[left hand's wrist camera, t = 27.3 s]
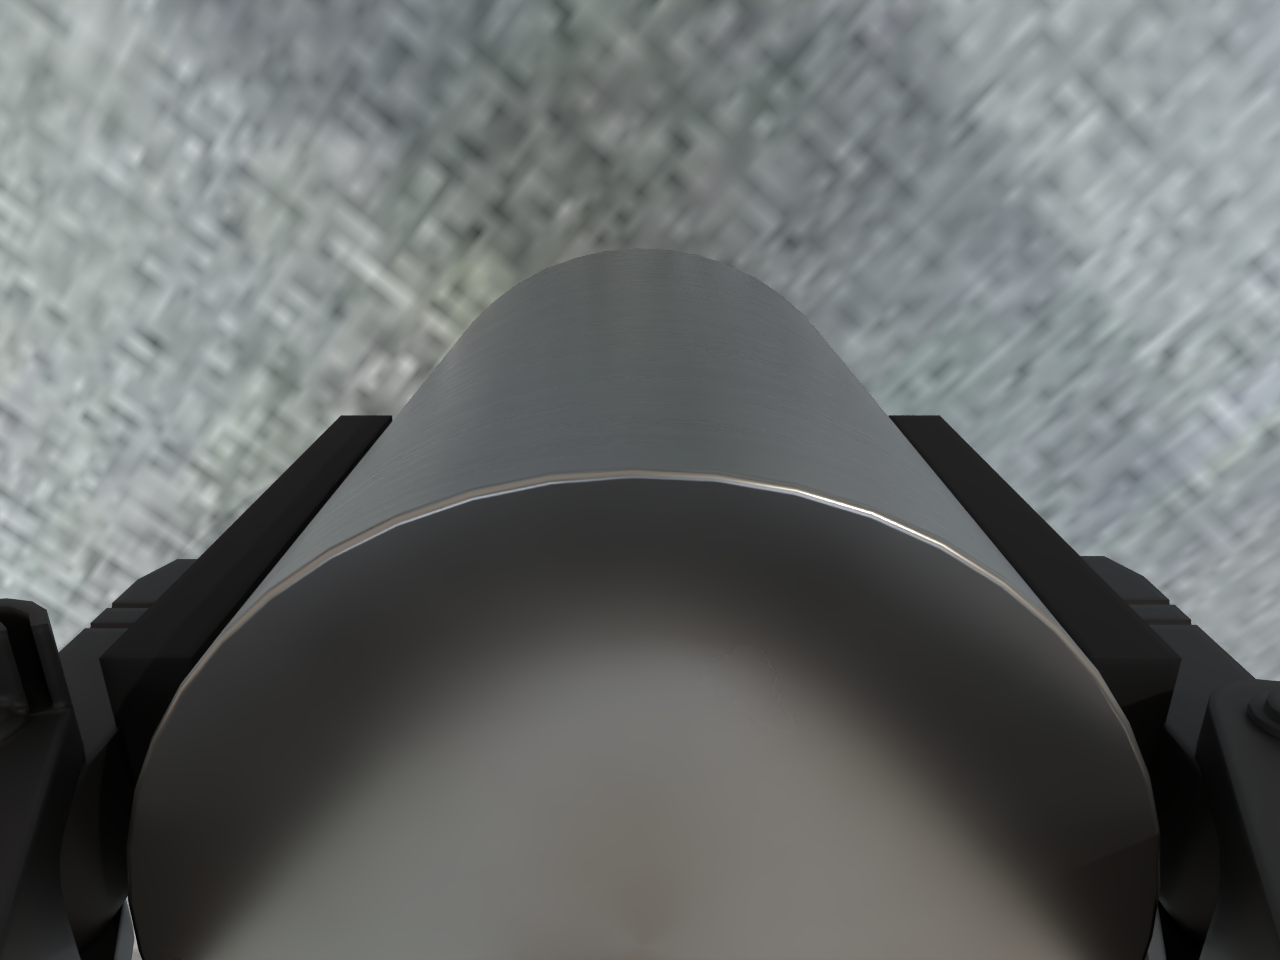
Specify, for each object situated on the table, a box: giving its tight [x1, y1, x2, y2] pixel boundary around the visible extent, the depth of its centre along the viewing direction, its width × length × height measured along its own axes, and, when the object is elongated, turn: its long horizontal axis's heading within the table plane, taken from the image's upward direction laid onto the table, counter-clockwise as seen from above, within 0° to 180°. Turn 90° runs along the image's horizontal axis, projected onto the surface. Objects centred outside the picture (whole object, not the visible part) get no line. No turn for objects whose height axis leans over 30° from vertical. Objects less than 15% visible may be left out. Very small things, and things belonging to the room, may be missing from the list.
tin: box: [126, 249, 1161, 960], centre depth 11 cm, size 7×7×9 cm
